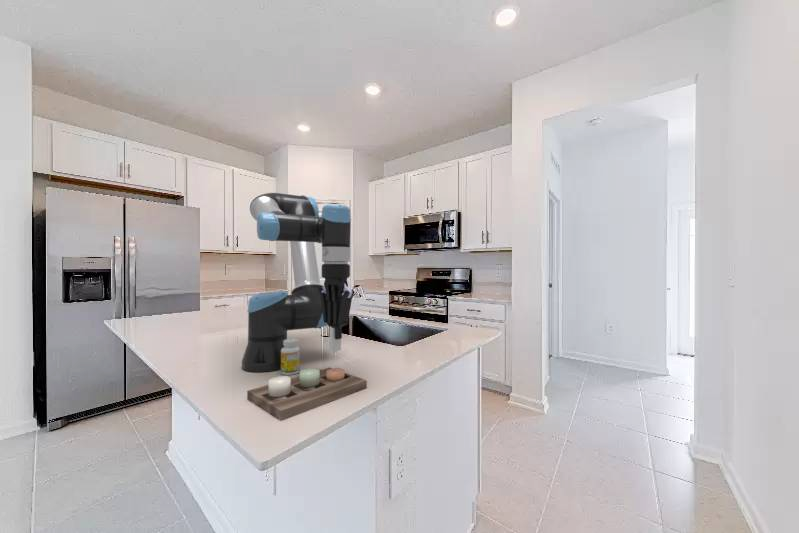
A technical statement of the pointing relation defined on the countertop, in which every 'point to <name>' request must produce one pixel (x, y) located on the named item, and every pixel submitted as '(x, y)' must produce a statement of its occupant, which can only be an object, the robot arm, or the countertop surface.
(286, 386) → the cream button
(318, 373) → the sage button
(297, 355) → the supplement bottle
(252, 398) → the wooden tray
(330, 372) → the terracotta button
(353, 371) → the countertop surface
